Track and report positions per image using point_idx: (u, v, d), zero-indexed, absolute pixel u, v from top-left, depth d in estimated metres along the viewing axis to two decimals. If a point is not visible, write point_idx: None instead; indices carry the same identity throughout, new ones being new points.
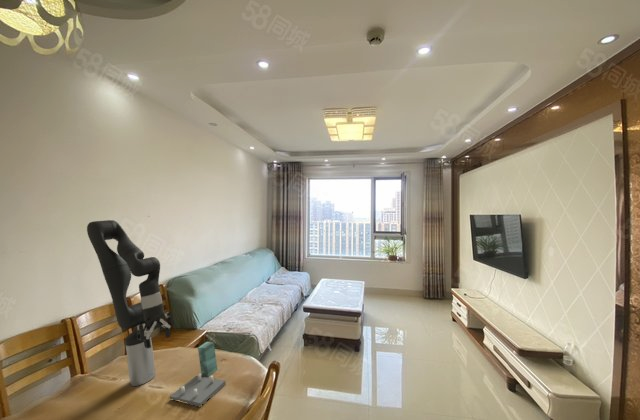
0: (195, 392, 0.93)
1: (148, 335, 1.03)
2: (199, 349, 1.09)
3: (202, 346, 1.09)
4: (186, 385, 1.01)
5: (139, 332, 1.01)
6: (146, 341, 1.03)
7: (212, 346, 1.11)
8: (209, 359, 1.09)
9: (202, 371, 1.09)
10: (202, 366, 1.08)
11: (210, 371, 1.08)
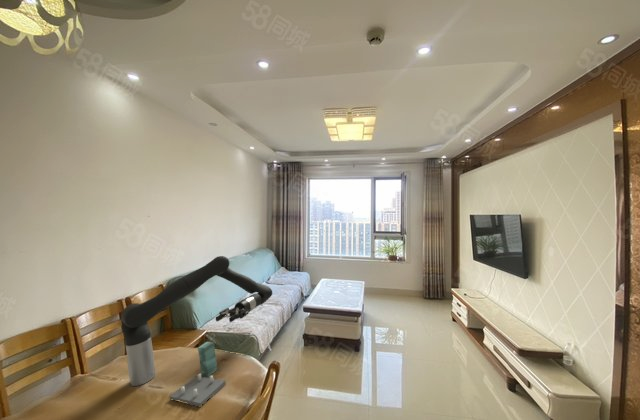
0: (195, 392, 0.93)
1: None
2: (199, 349, 1.09)
3: (202, 346, 1.09)
4: (186, 385, 1.01)
5: (245, 314, 1.25)
6: (235, 318, 1.21)
7: (212, 346, 1.11)
8: (209, 359, 1.09)
9: (202, 371, 1.09)
10: (202, 366, 1.08)
11: (210, 371, 1.08)
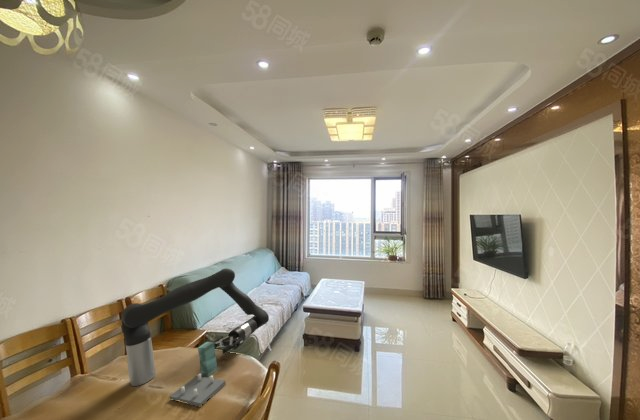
0: (195, 392, 0.93)
1: None
2: (199, 349, 1.09)
3: (202, 346, 1.09)
4: (186, 385, 1.01)
5: (239, 344, 1.19)
6: (229, 349, 1.16)
7: (212, 346, 1.11)
8: (209, 359, 1.09)
9: (202, 371, 1.09)
10: (202, 366, 1.08)
11: (210, 371, 1.08)
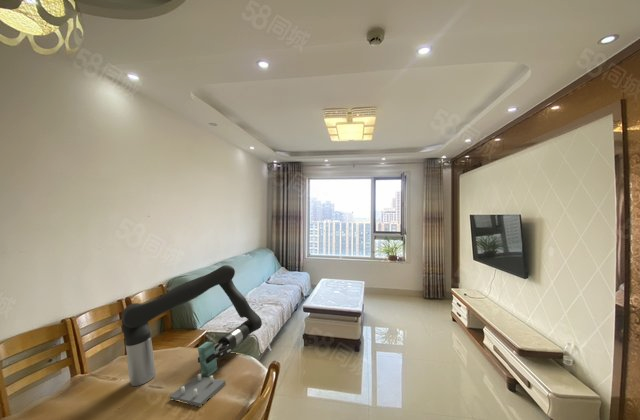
0: (195, 392, 0.93)
1: None
2: (199, 349, 1.09)
3: (202, 346, 1.09)
4: (186, 385, 1.01)
5: (225, 353, 1.12)
6: (213, 358, 1.09)
7: (212, 346, 1.11)
8: None
9: (202, 371, 1.09)
10: (202, 366, 1.08)
11: (210, 371, 1.08)
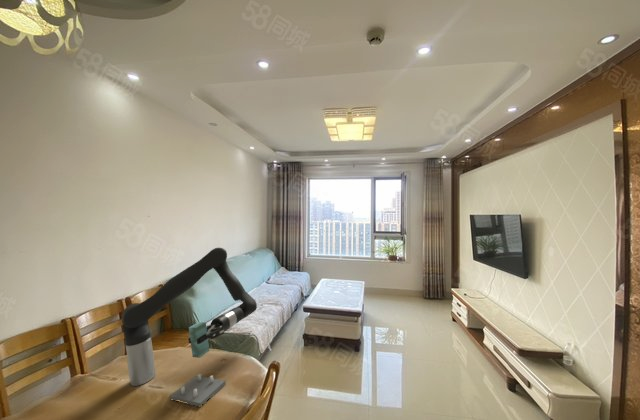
0: (195, 392, 0.93)
1: None
2: (190, 329, 1.03)
3: (193, 326, 1.04)
4: (186, 385, 1.01)
5: (218, 334, 1.06)
6: (205, 339, 1.04)
7: (204, 326, 1.05)
8: None
9: (193, 352, 1.03)
10: (193, 347, 1.03)
11: (201, 352, 1.03)
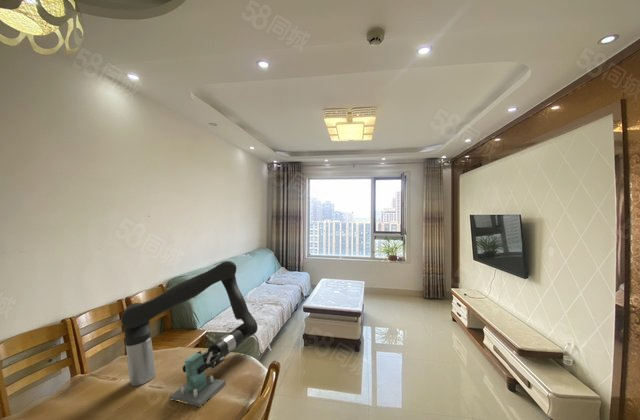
0: (195, 392, 0.93)
1: None
2: (186, 362, 0.96)
3: (189, 359, 0.97)
4: (186, 385, 1.01)
5: (219, 362, 1.00)
6: (206, 368, 0.97)
7: (201, 358, 0.99)
8: None
9: (189, 387, 0.96)
10: (189, 381, 0.96)
11: (198, 387, 0.96)
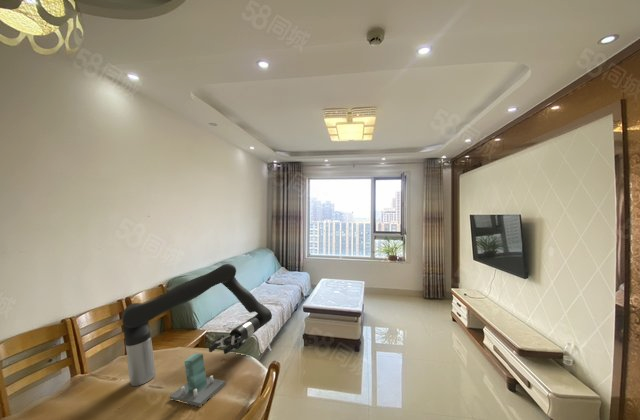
0: (195, 392, 0.93)
1: None
2: (186, 362, 0.96)
3: (189, 359, 0.97)
4: (186, 385, 1.01)
5: (241, 343, 1.13)
6: (231, 349, 1.09)
7: (201, 358, 0.99)
8: (198, 373, 0.97)
9: (189, 387, 0.96)
10: (189, 381, 0.96)
11: (198, 387, 0.96)
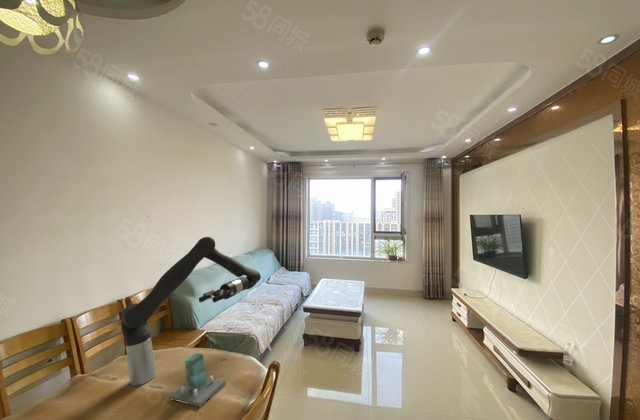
0: (195, 392, 0.93)
1: None
2: (186, 362, 0.96)
3: (189, 359, 0.97)
4: (186, 385, 1.01)
5: (230, 295, 1.19)
6: (219, 299, 1.16)
7: (201, 358, 0.99)
8: (198, 373, 0.97)
9: (189, 387, 0.96)
10: (189, 381, 0.96)
11: (198, 387, 0.96)
